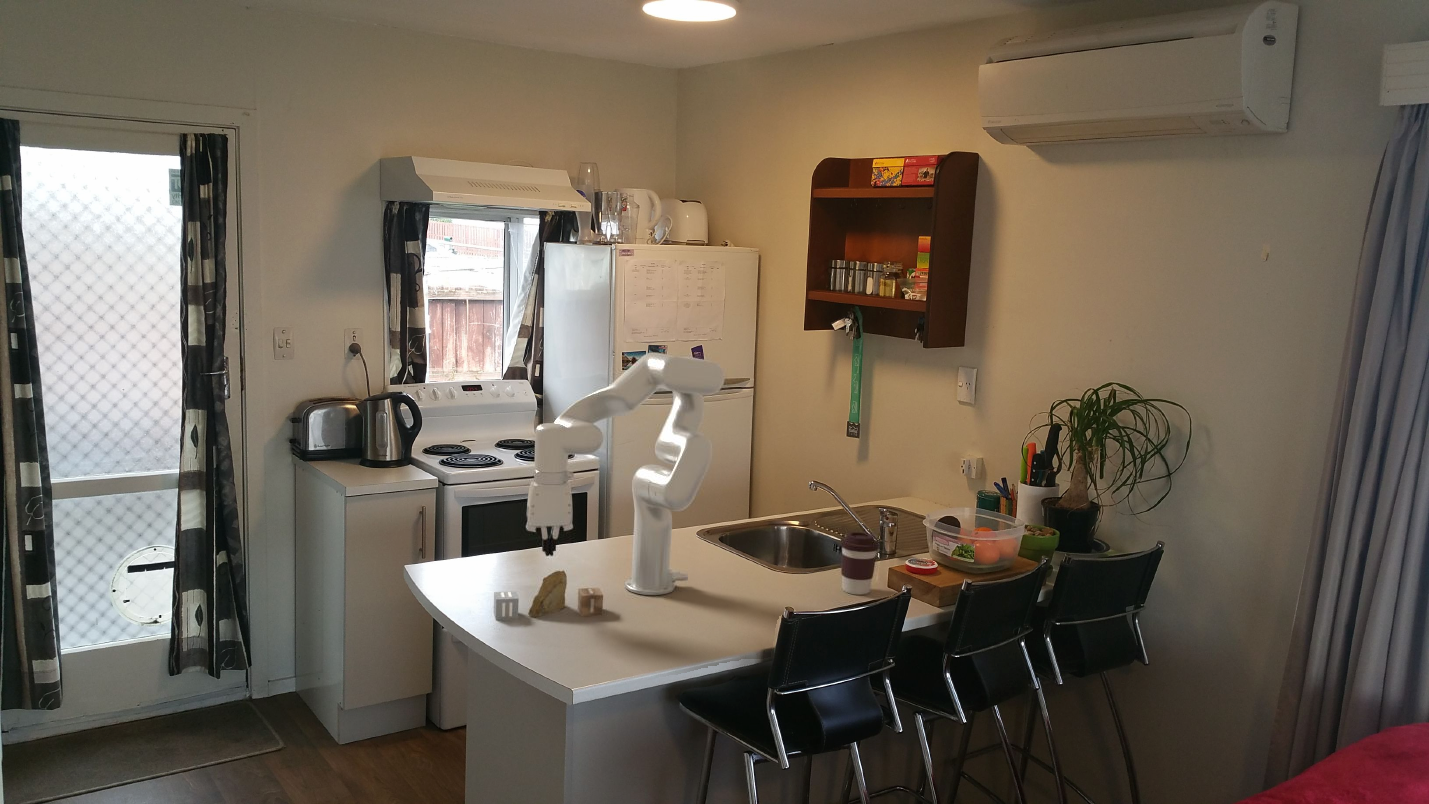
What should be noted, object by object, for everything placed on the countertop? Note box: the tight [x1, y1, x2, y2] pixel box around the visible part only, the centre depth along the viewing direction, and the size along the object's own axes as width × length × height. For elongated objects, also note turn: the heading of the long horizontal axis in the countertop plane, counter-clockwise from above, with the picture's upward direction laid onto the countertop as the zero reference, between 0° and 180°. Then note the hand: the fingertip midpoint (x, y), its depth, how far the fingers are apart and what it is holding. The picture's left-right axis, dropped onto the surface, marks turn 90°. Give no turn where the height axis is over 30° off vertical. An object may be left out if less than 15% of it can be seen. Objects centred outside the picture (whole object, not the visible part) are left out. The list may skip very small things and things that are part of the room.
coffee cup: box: [839, 531, 880, 596], centre depth 269 cm, size 10×10×15 cm
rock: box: [527, 570, 568, 618], centre depth 243 cm, size 11×9×10 cm
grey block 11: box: [493, 590, 520, 621], centre depth 238 cm, size 5×5×5 cm
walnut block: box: [577, 587, 604, 617], centre depth 244 cm, size 5×5×5 cm
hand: (548, 554), depth 241 cm, fingers closed
